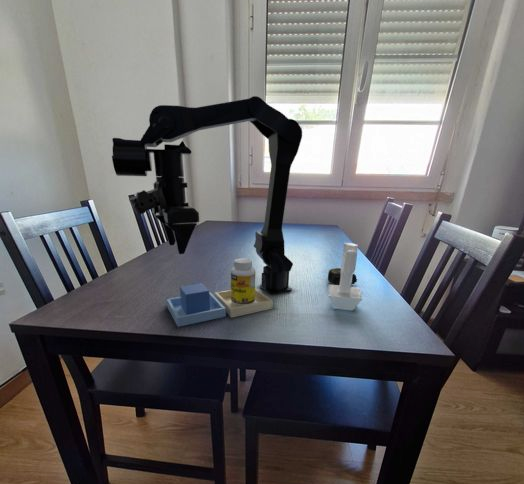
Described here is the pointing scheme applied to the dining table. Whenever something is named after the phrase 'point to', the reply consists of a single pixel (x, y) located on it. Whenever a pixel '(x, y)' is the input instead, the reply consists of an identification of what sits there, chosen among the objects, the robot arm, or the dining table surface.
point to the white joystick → (346, 282)
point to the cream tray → (235, 310)
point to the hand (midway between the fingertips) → (176, 249)
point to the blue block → (194, 298)
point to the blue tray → (182, 319)
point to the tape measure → (338, 276)
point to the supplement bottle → (242, 282)
